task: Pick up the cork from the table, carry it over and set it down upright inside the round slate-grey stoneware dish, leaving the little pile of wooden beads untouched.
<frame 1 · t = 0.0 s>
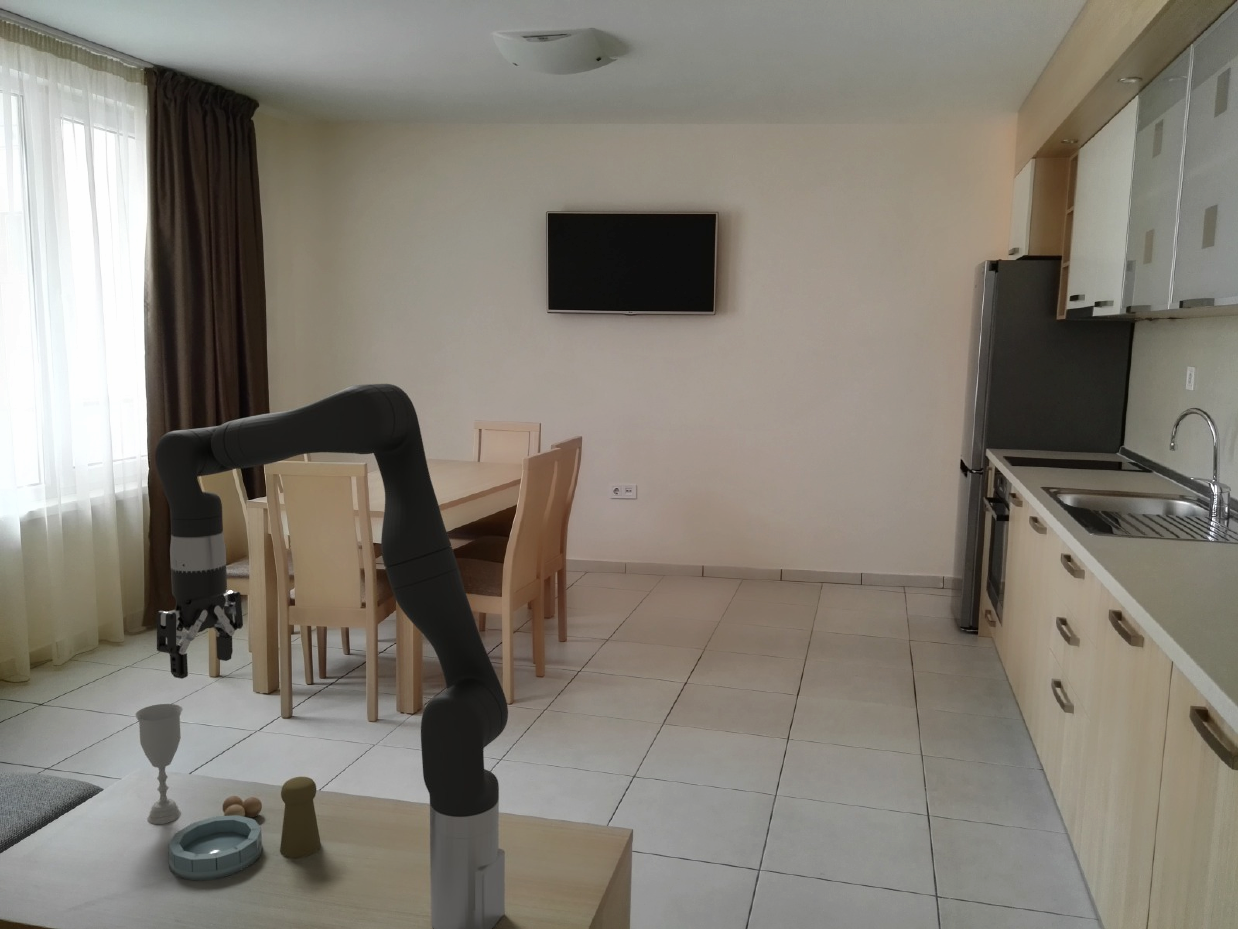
hand: (203, 668, 141), 29 cm above the table, tool pointing down, fingers open, 8 cm apart
cork: (300, 848, 146), on the table
dish: (216, 856, 143), on the table
bead pile: (239, 819, 154), on the table
chalice: (164, 817, 154), on the table
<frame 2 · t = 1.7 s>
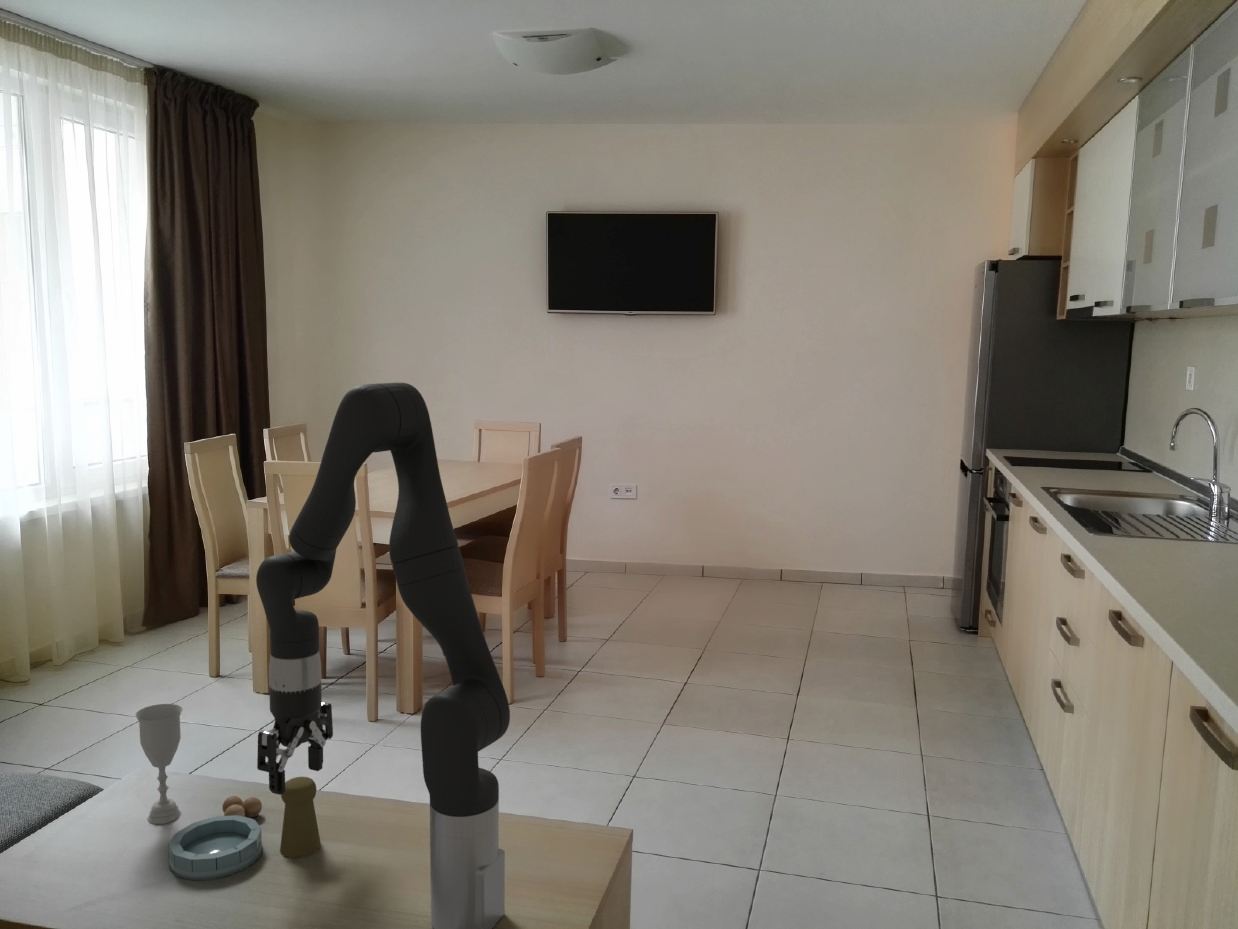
hand: (297, 780, 144), 11 cm above the table, tool pointing down, fingers open, 8 cm apart
nothing on the table moved.
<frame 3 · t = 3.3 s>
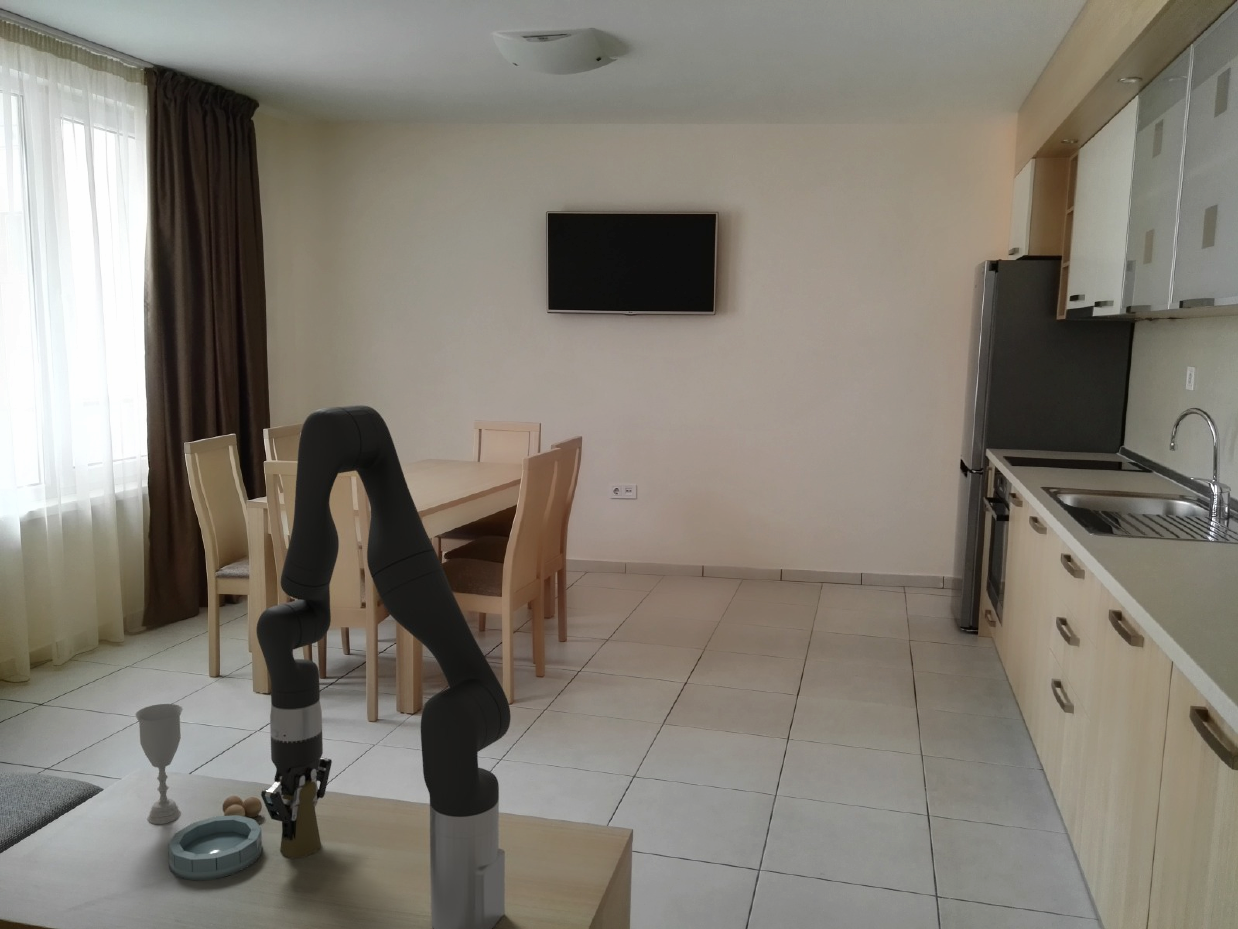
hand: (299, 834, 145), 2 cm above the table, tool pointing down, fingers closed on cork, 3 cm apart
cork: (300, 848, 146), on the table, touching gripper
everything else where it was.
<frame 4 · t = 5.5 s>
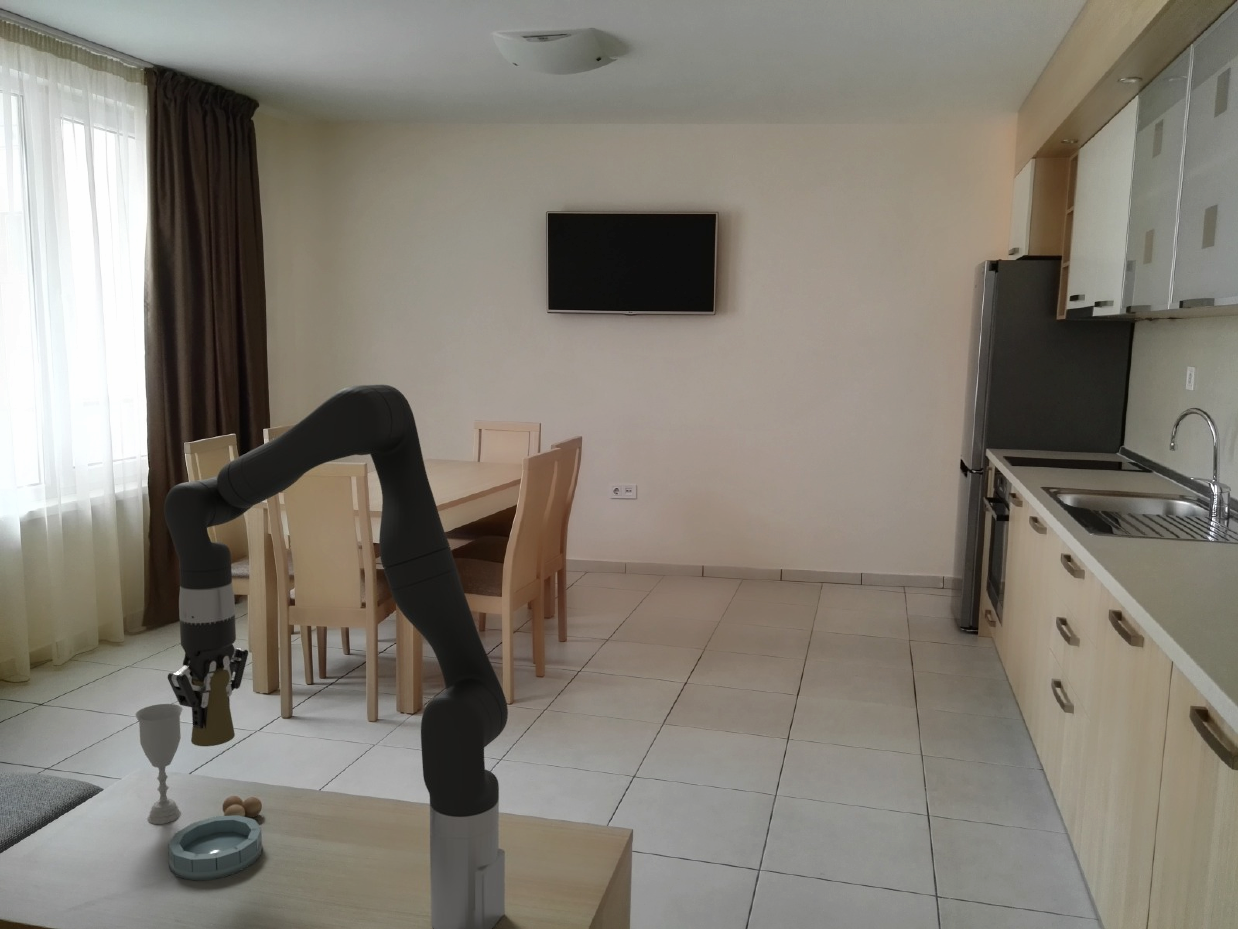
hand: (212, 724, 140), 21 cm above the table, tool pointing down, fingers closed on cork, 3 cm apart
cork: (213, 739, 141), point 19 cm above the table, touching gripper
everything else where it was.
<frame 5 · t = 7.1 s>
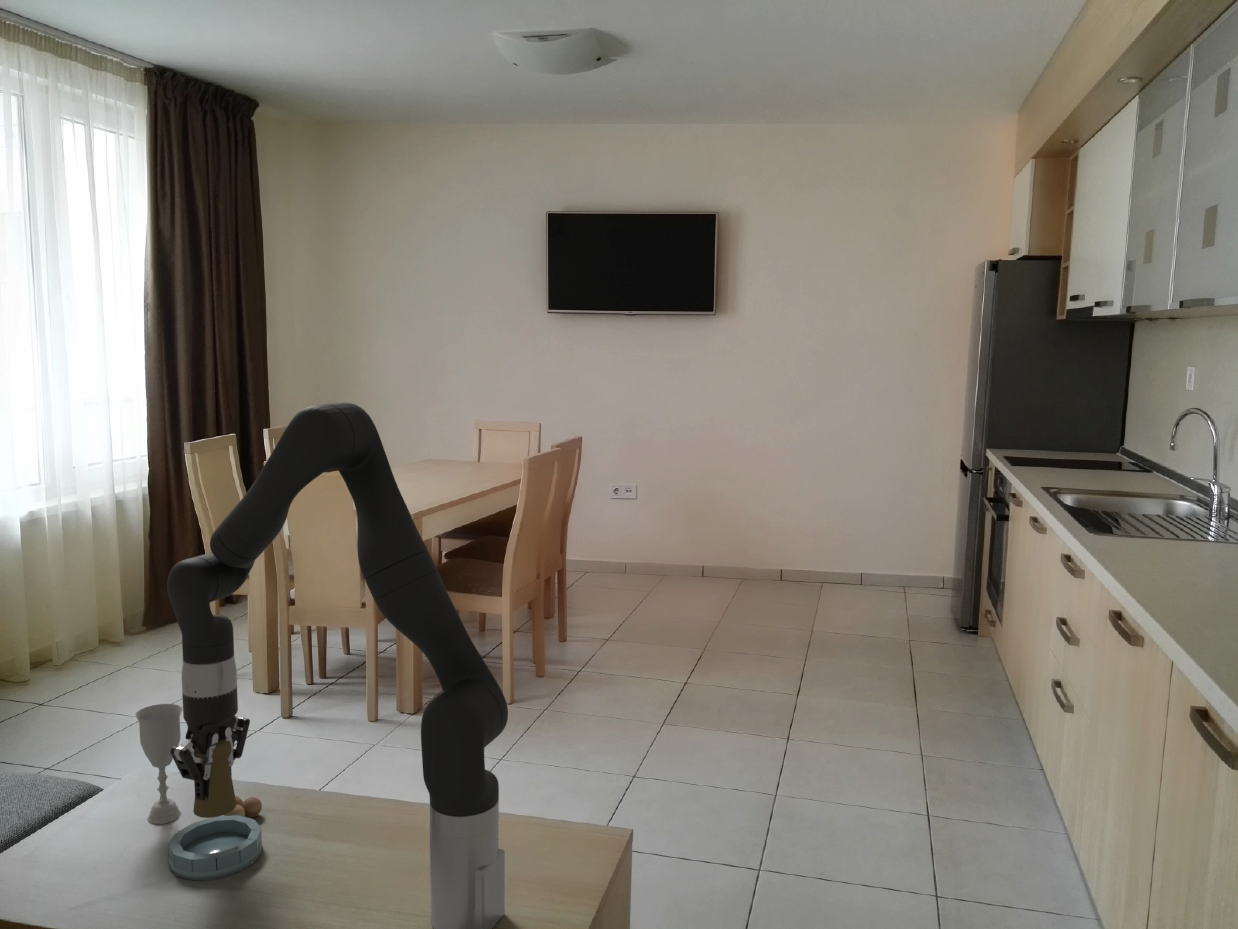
hand: (214, 794, 141), 10 cm above the table, tool pointing down, fingers closed on cork, 3 cm apart
cork: (215, 809, 142), point 8 cm above the table, touching gripper
everything else where it was.
when the fingers open (5 cm above the table, at t = 8.3 s): cork drops 1 cm, resting on dish.
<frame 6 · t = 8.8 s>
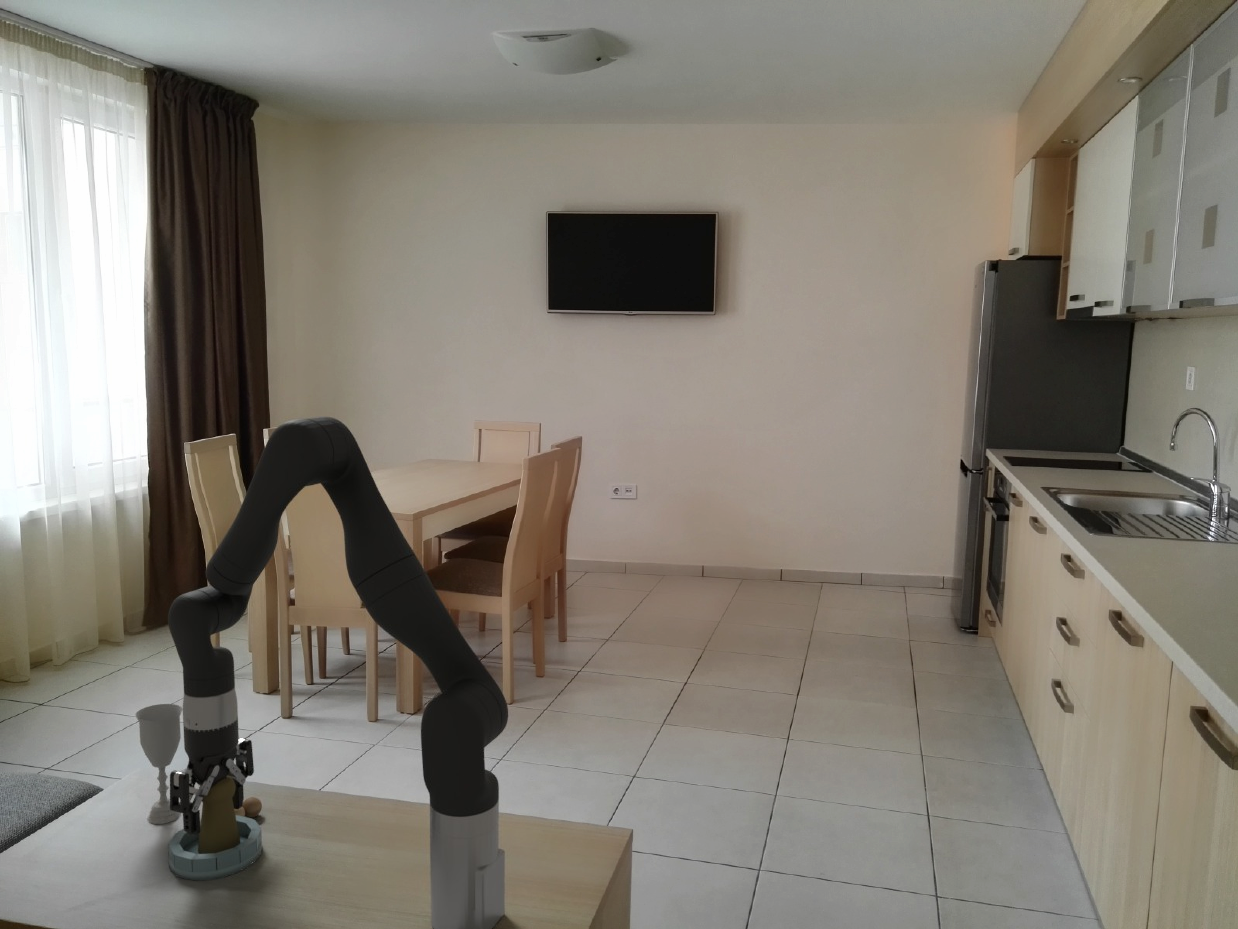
hand: (215, 820, 142), 6 cm above the table, tool pointing down, fingers open, 8 cm apart
cork: (219, 848, 143), point 1 cm above the table, touching dish
everything else where it was.
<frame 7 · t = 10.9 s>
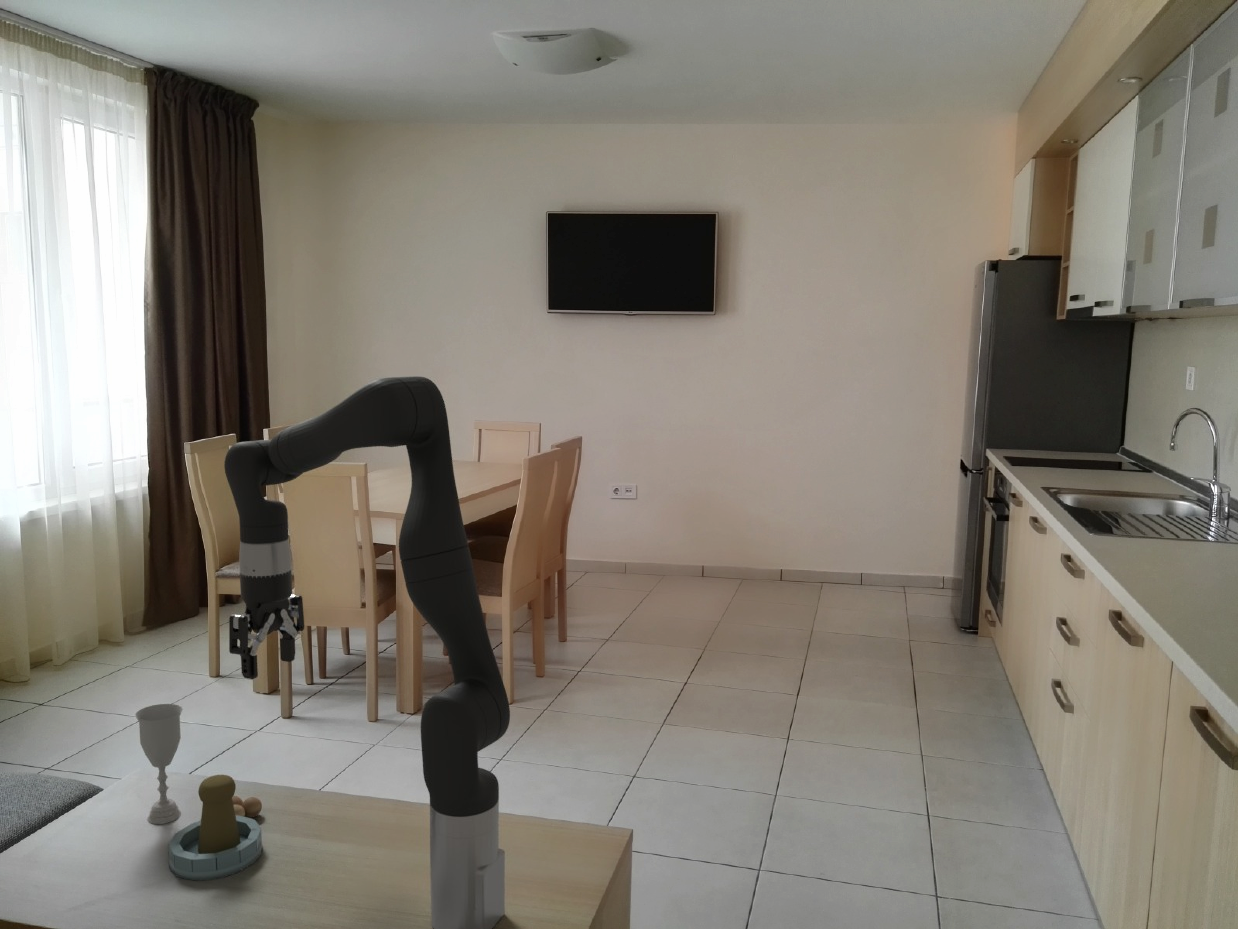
hand: (269, 669, 147), 27 cm above the table, tool pointing down, fingers open, 8 cm apart
nothing on the table moved.
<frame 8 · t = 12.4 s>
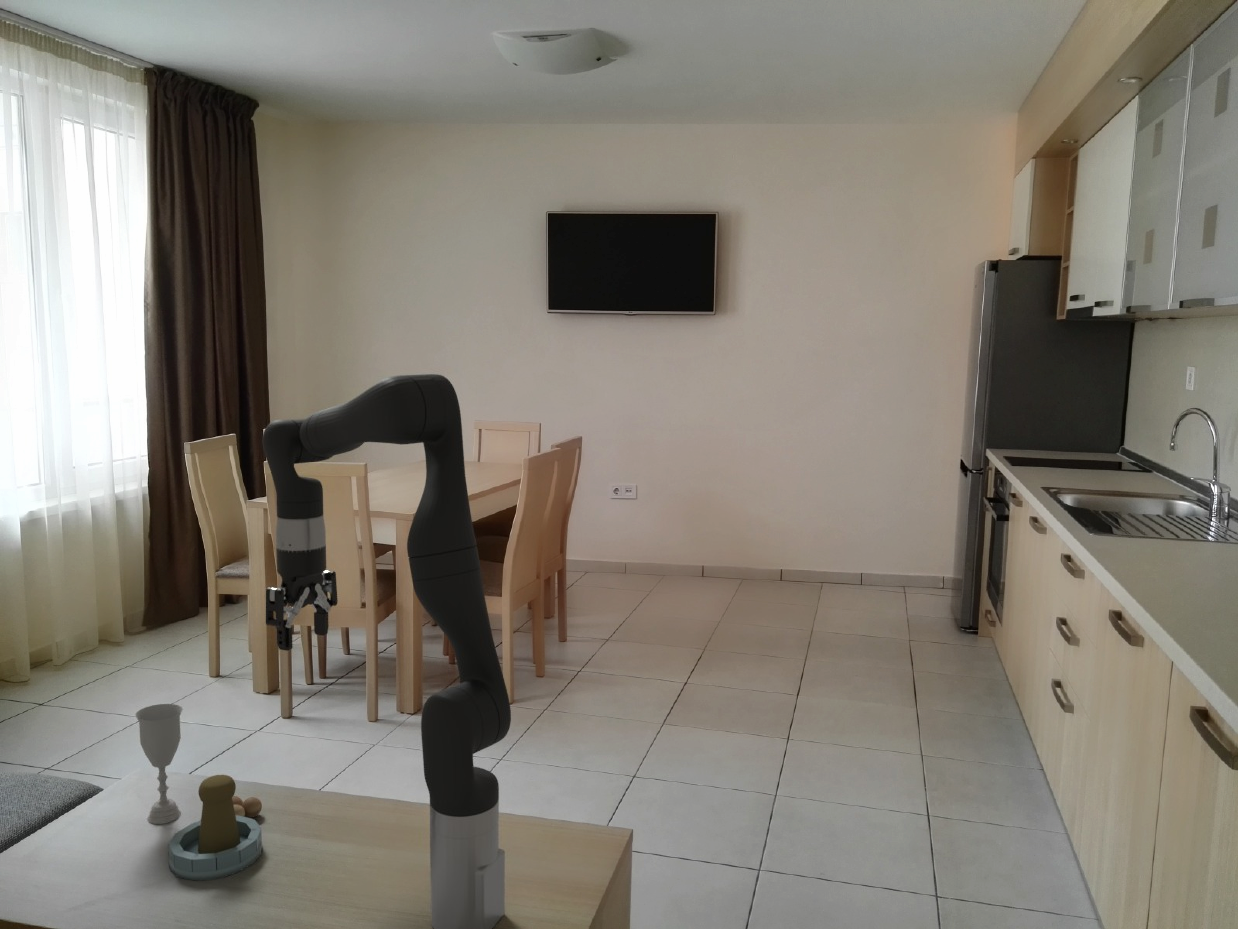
hand: (303, 641, 151), 30 cm above the table, tool pointing down, fingers open, 8 cm apart
nothing on the table moved.
at the end: cork 0.6 cm from the dish (horizontally); cork tilted 0°; cork point 1.0 cm above the table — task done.
